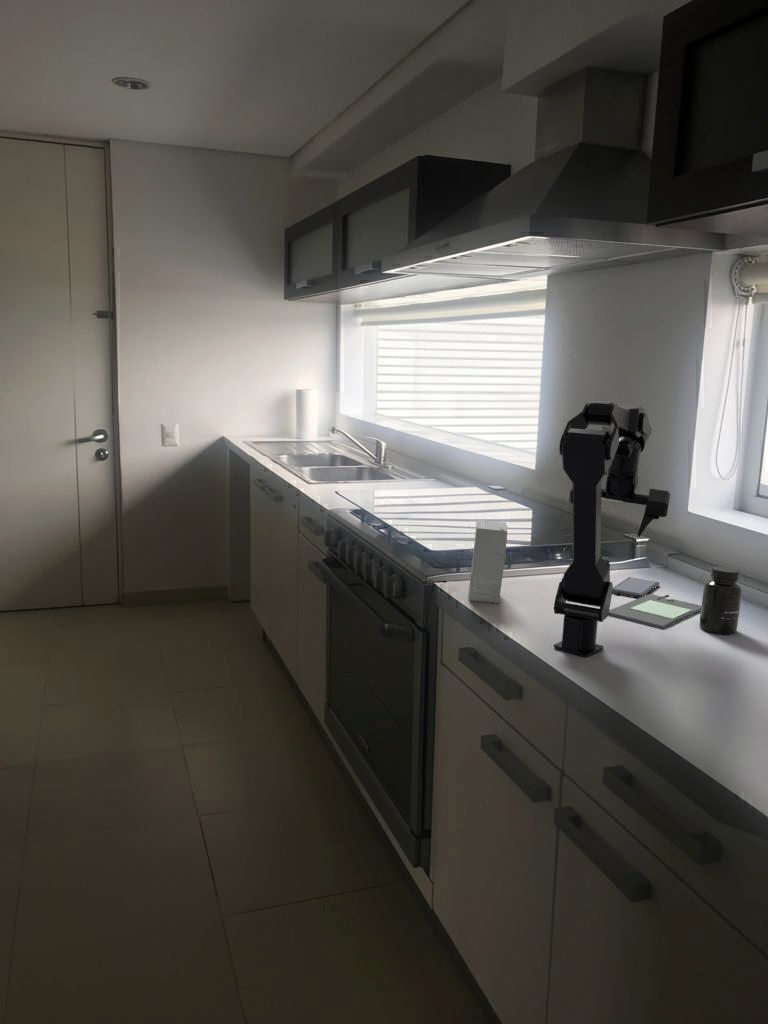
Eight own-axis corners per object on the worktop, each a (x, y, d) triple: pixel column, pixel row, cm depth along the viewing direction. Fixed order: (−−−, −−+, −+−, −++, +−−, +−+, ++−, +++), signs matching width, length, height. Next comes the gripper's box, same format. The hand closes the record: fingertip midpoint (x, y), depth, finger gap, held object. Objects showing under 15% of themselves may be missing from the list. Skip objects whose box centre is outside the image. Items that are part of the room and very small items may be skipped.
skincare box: (468, 590, 185) (473, 518, 182) (501, 593, 184) (507, 520, 181) (468, 601, 177) (473, 526, 174) (503, 604, 176) (508, 528, 173)
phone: (641, 598, 184) (642, 594, 184) (609, 593, 188) (610, 589, 188) (659, 585, 196) (659, 581, 196) (628, 580, 200) (629, 576, 200)
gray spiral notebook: (662, 628, 164) (663, 624, 164) (605, 614, 172) (606, 609, 172) (704, 609, 179) (704, 604, 178) (650, 596, 187) (650, 592, 186)
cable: (654, 604, 181) (654, 601, 181) (614, 594, 187) (614, 591, 187) (669, 598, 186) (669, 594, 186) (630, 589, 192) (630, 585, 192)
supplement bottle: (731, 638, 160) (738, 575, 158) (694, 630, 164) (701, 569, 162) (741, 629, 166) (748, 569, 163) (705, 622, 170) (712, 563, 168)
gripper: (677, 452, 169) (666, 517, 177) (581, 440, 175) (576, 504, 183) (672, 481, 160) (661, 548, 169) (571, 467, 166) (566, 533, 175)
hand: (615, 532), depth 174 cm, fingers open, 9 cm apart
